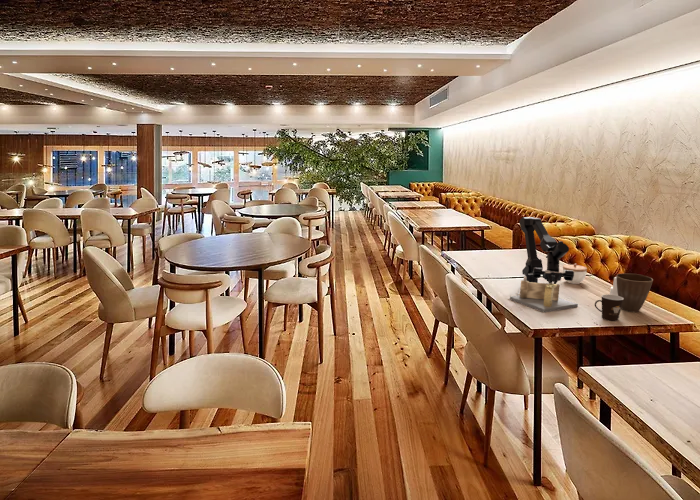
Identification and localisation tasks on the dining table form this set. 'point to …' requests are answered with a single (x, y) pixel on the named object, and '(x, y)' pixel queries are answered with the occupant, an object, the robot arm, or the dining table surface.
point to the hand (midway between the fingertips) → (552, 288)
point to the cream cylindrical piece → (614, 288)
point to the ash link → (536, 290)
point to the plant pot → (633, 290)
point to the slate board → (539, 303)
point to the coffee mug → (610, 307)
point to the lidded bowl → (576, 273)
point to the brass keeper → (549, 294)
